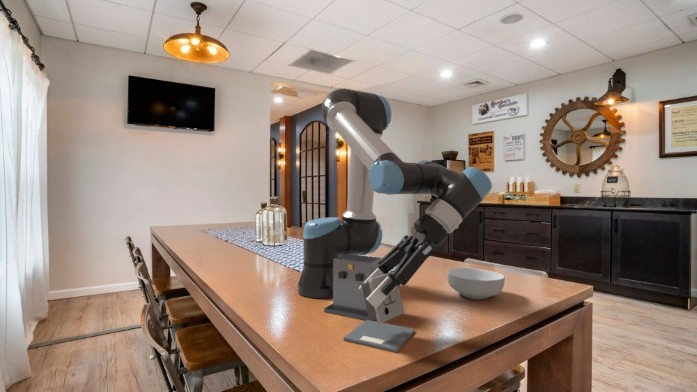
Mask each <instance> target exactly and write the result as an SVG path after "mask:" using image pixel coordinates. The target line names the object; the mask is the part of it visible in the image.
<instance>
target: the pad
mask: <svg viewBox="0 0 697 392" xmlns="http://www.w3.org/2000/svg"><path fill="white" fill-rule="evenodd" d="M414 333H415V328H411V327H407V326H401V325H395V324H390V323H387V322H384V323H378V322H377V320H374V321H371V320H364V322H362V323H361V324H359V325H358V326H357V327H356V328H354V329H352V330H351V331H350V332H349V333H347V334H345V336H343V341H345V342H350V343H354V344H356V345H357V344H359V345H362V346H365V347H366V346H367V347H370V348H374V349H375V348H376V349H379V350H383V351H388V352H392V353H398V351H399V350H400V349H401V348H402V347H403V346H404V345H405V343H406V342H407V341H408V340H409V339H410V337H412V335H414Z"/></svg>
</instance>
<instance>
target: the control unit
mask: <svg viewBox="0 0 697 392" xmlns="http://www.w3.org/2000/svg"><path fill="white" fill-rule="evenodd" d="M382 258H383V257H378V256H377V257H376V256H370V255H369V256H368V255H350V254H347V255H343V256H340V257H337V258H334V259H333V297H332V303H331V304H330V305H327V306H326V307H324V309H323V311H324V313H327V314H331V315H336V316H337V315H338V316H343V317H348V318H351V319H358V320H363V321H366V320H369V318H368V313H367V309H366V304H365V300H364V295H363V292H362V291H361V290H360V289H359V287H360V286H361V284H362V283H364V282H365V281H366V280H367V279H368V277H369V276H370V275H371V274H372V273H373V272H374V271H375V270H376V269H377V268H378V266H379V264H378V262H379V261H380V260H381V259H382ZM371 306H372V305H371ZM371 321H375V320H371Z"/></svg>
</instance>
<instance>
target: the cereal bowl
mask: <svg viewBox="0 0 697 392" xmlns="http://www.w3.org/2000/svg"><path fill="white" fill-rule="evenodd" d="M446 276H447V282H448V284H449V286H450V288H451V289H452V290H454V291H456V292H457V293H460V294H461V296H463V297H465V298H467V299H468V298H469V299H474V300H486V299H488V298H489V297H494V296H497V295H498V294H500V293H501V291H502V290H503V288H504V287H505V275H504V274H502V273H499V272H496V271H493V270H489V269H483V268H477V267H454V268H449V269H448V270H447V274H446Z"/></svg>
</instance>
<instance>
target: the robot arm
mask: <svg viewBox="0 0 697 392" xmlns="http://www.w3.org/2000/svg"><path fill="white" fill-rule="evenodd" d="M321 115H322V118H323V121H324V123H325V124H326V126H327V127H328V128H330V130H331V131H333V132H337V133H338V134H339V135H340V137H341V138H342V139H343V141H344V142H345V143H346V144H347V146H349V148H350V159H349V161H350V162H349V175H348V177H349V178H348V190H347V203H346V206H347V207H346V210H345V211H344V212H343V214H342V216H341V219H340V218H339V217H333V216H332V217H331V216H330V217H321V218H316V219H311V220H308V221H307V222H306V223H305V224H304V226H303V227H304V228H303V234H302V237H303V268H302V270H301V275H300V277H299V280H298V284H297V293H298V295H301V296H304V297H307V298H313V299H325V298H327V299H328V298H333V259H334V258H337V257H340V256H343V255H347V254H350V255H360V256H367V255H369V254H373V253H375V252H376V251H377V250H378V249H379V248H380V246H381V244H382V241H383V230H382V228H381V227H382V226H381V224H380V223H379V221H378V220H377V215H375V213H374V212H373V205H374V192H375V193H377V194H385V195H389V196H390V195H391V196H392V195H431V196H434V197H435V198H436V199H435V200H434V201H433V202H432V203H431V204H430V205H429V206H428V208H426V209H425V213H422V214H421V215H420V216H419V217H418V218H417V219H416V220H415V221H414V223H413V227H414V229H415V233H413V234H411V235H410V236H408V235H407V234H406V235H404V236H403V238H402V239H401V240H400V241H399V242H398V243H397V244H396V245H394V247H393V248H392V249H391V250H389V252H387V254H385V256H383V257H381V258H382V259H381V260H380V261H379V262H378V264H379V266H378V268H377V269H376V270H375V271H374V272H373V273H372V274H371V275H370V276H369V277H368V279H367V280H366V281H365V282H364V283H366V282H369V279H371V278H374V277H378V276H381V275H384V274H388V273H389V274H388V276H389V277H390V278H391V279H390V278H389V277H388V276H387V277H386V278H385V279H384V281H383V282H382V283H381V284H380V285H379V286H378V287H377V288H376V289H375V290H374V291H373V292H372V293H371V294H370V295H369V296H368V297H367V301H368V302H369V303H370V304H371V305H373V306H374V307H375V308H377V307H378V306H379V305H380V304H381V303H382V302H383V301H384V300H385V299H386V297H387V296H388V295H389V294H390V293H391V292H392V291H393V290H394V289H395V288H396V287H397V285H398V286H401V285H402V286H403V287H404V286H406V285H407V283H409V281H410V280H411V279H412V278H413V276H415V274H416V273H417V271H418V270H419V268H421V267H422V265H423V264H424V262H425V261H427V260H428V258H429V257H430V256H431V255H433V254H434V252H435V249H434V248H432V246H433V247H436V248H437V247H440V246H441V245H442V244H443V243H444V241H446V239H447V238H448V237H449V234H452V233H453V232H454V231H455V230H457V229H459V227H460V224H461V223H462V222H463V221H464V220H465V219H466V217H467V216H468V215H469V214H470V213H472V212H473V211H474V209H475V208H476V207H477V206H479V204H480V203H481V202H483V201H484V198H486V196H487V195H488V194H489V193H490V191H491V190H492V187H493V183H492V182H491V179H490V177H489V176H488V175H487V174H486V173H485V172H484V171H483V170H481V169H479V168H477V167H475V166H468V167H466V168H465V169H464V170H462V171H461V172H457V171H454V170H452V169H450V168H447V167H446V166H444V165H440V164H439V163H437V162H434V161H431V160H427V159H424V160H420V161H419V162H408V161H407V162H405V161H404V160H402V159H401V158H400V157H399V156H398V155H397V154H396V153H395V152H394V151H393V150H392V149H391V148H390V147H389V146H388V145H387V144H386V142H384V141H383V139H382V137H383V133H384V131H386V130H387V129H388V128H389V125H390V124H391V121H392V108H391V104H390V102H389V101H388V99H387V98H386V97H384V96H382V95H380V94H379V95H378V94H376V93H374V92H366V91H361V90H355V89H350V88H338V89H335V90H332V91H331V92H329V93H328V94H327V95H326V97H325V98H324V100H323V101H322V104H321ZM394 268H395V269H394ZM393 269H394V271H393V272H391V271H392V270H393ZM359 289H360V290H361V291H362V292H363V290H362V286H360V287H359Z"/></svg>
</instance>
